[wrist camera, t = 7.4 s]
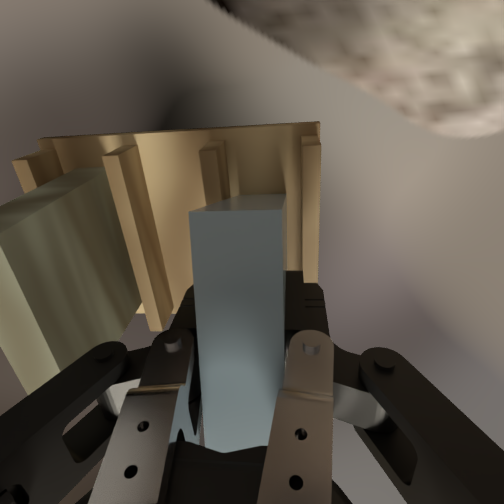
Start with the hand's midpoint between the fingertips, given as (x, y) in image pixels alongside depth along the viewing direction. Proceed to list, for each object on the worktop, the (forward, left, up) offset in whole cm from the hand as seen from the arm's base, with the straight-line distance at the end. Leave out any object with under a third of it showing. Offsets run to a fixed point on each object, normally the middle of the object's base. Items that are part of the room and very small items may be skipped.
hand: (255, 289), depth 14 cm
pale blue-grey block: (0, +2, -4) cm, 4 cm away
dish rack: (+4, 0, -6) cm, 7 cm away
